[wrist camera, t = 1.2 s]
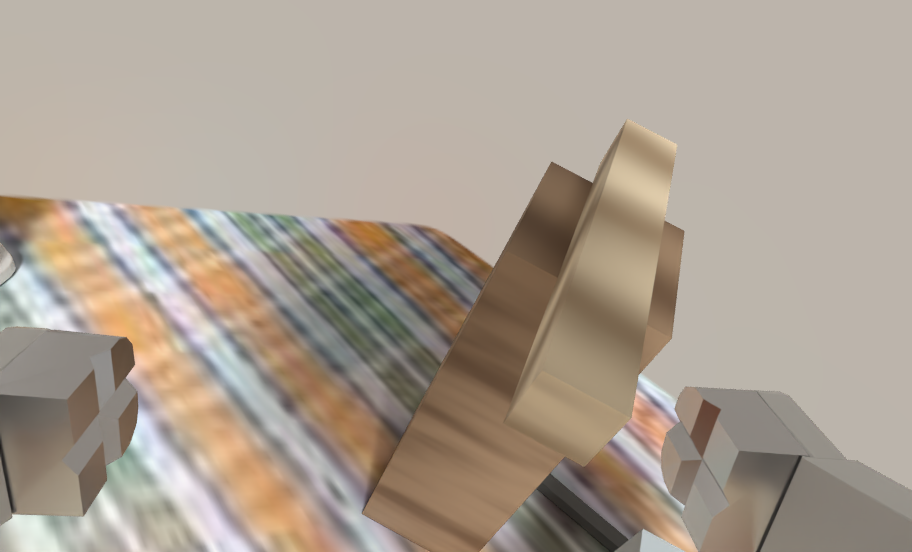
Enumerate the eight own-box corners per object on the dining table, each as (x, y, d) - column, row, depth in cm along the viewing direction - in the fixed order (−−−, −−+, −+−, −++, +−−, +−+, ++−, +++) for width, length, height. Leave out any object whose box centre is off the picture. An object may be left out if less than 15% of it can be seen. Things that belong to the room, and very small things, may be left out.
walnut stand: (463, 569, 44) (671, 338, 27) (361, 513, 45) (506, 250, 28) (499, 467, 51) (684, 230, 34) (411, 419, 51) (551, 161, 34)
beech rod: (584, 466, 21) (631, 418, 19) (503, 423, 21) (541, 370, 19) (647, 187, 36) (677, 144, 34) (600, 163, 36) (627, 118, 34)
